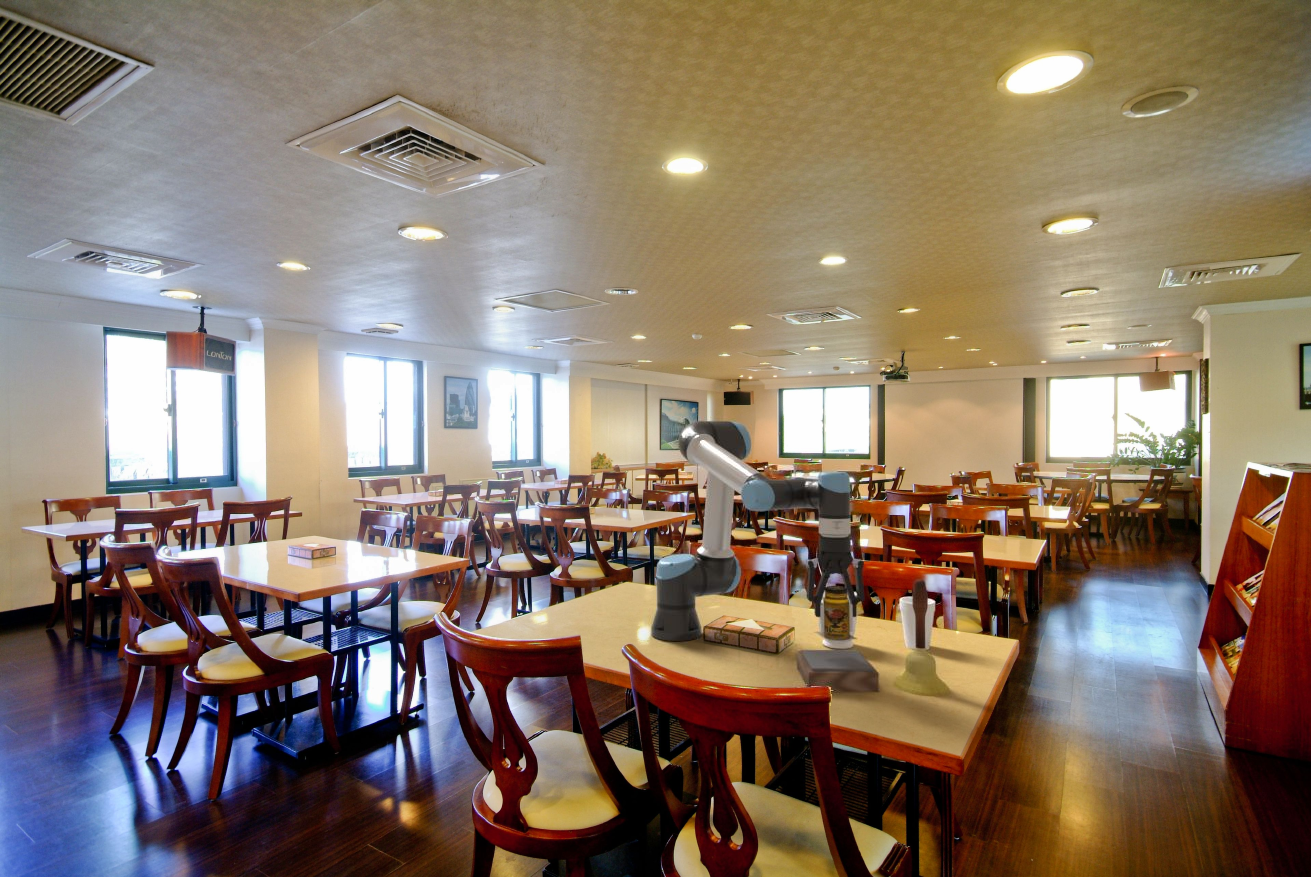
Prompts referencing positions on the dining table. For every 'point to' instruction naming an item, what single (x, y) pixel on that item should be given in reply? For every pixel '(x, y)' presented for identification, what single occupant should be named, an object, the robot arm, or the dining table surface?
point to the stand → (837, 670)
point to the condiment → (836, 615)
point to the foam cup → (909, 621)
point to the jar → (845, 643)
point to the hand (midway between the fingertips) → (835, 630)
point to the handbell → (920, 654)
